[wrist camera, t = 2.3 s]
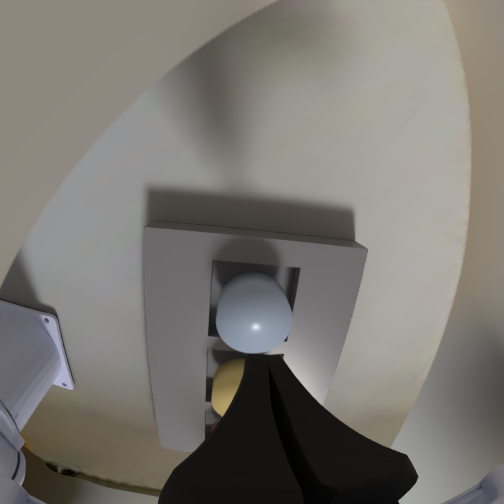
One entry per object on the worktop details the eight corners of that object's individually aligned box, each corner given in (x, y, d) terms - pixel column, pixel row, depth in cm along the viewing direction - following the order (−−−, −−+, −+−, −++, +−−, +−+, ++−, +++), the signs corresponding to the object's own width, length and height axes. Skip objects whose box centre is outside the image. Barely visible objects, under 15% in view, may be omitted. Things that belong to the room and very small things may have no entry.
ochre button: (212, 397, 19) (210, 419, 17) (214, 355, 18) (212, 377, 16) (267, 400, 19) (270, 422, 17) (275, 359, 18) (280, 381, 16)
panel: (164, 432, 22) (161, 447, 21) (153, 220, 17) (144, 227, 15) (298, 440, 23) (302, 454, 22) (355, 241, 18) (368, 249, 16)
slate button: (216, 330, 17) (214, 350, 15) (220, 269, 16) (218, 284, 14) (280, 334, 17) (285, 354, 15) (291, 275, 16) (298, 290, 14)
